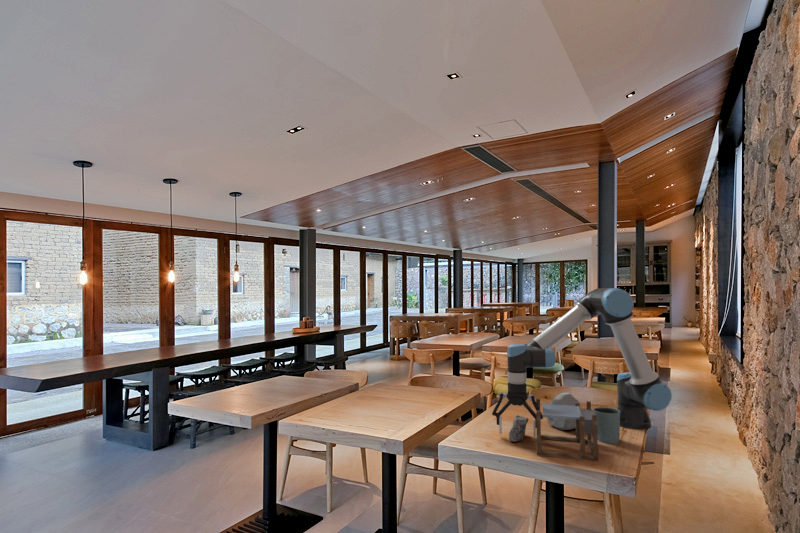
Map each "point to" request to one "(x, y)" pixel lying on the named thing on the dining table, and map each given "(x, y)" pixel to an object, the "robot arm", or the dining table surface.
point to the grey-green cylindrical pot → (608, 424)
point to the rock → (518, 429)
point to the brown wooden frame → (579, 437)
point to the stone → (562, 422)
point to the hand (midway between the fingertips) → (517, 434)
